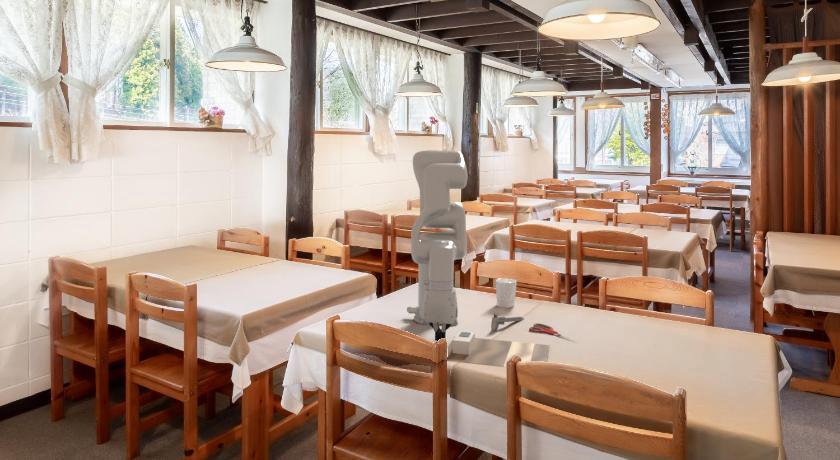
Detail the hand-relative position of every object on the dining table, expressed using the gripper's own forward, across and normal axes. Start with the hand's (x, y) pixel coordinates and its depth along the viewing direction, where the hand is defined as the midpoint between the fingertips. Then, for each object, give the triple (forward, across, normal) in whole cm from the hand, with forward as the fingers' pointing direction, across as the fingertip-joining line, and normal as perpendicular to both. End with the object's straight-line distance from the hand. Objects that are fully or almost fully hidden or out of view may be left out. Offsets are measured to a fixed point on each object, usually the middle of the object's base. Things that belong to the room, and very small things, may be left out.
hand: (440, 343), depth 180 cm
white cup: (+2, +13, +54) cm, 56 cm away
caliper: (+2, +17, +29) cm, 34 cm away
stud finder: (+1, +7, 0) cm, 7 cm away
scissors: (+2, +34, +24) cm, 42 cm away
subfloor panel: (+2, +17, 0) cm, 17 cm away
